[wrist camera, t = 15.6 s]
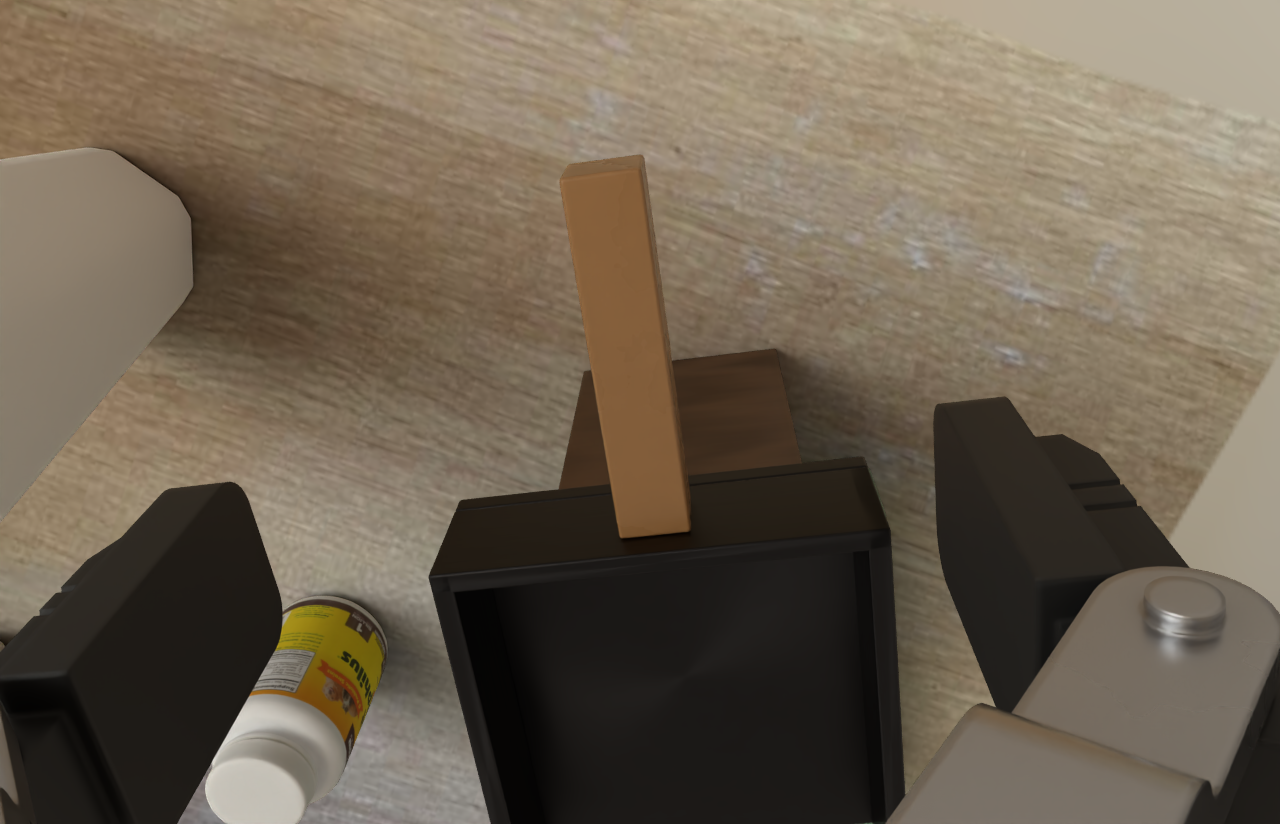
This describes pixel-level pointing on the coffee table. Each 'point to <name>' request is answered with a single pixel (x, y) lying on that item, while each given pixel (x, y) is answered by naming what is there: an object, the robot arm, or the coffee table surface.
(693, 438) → the block
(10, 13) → the coffee table surface
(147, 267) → the cup
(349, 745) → the supplement bottle
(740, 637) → the pan
